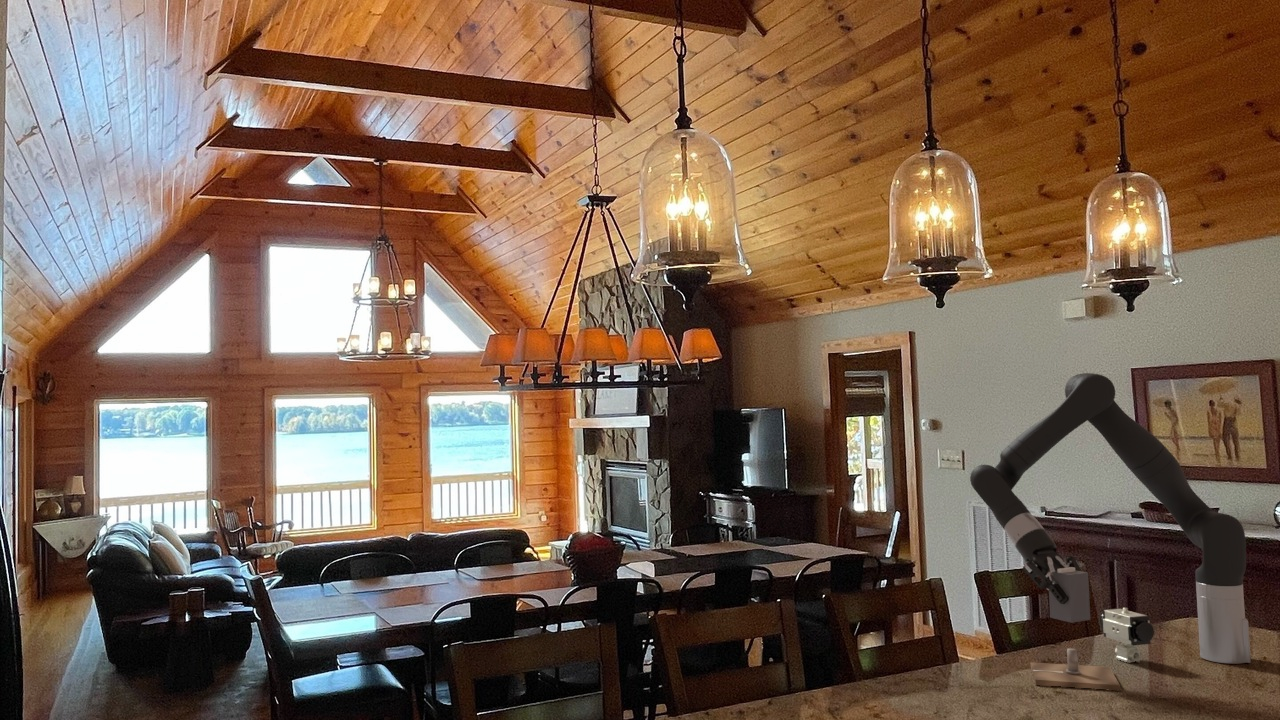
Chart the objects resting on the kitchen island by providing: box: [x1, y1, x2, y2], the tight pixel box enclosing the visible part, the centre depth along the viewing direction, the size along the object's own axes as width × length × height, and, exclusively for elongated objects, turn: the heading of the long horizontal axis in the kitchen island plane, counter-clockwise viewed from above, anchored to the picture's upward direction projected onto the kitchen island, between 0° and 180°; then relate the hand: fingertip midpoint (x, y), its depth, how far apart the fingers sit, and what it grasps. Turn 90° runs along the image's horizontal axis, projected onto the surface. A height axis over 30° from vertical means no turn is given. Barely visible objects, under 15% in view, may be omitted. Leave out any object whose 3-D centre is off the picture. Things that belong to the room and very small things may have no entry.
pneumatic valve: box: [1099, 607, 1155, 664], centre depth 211 cm, size 6×12×12 cm, turn 15°
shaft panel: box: [1030, 647, 1121, 691], centre depth 198 cm, size 16×14×6 cm
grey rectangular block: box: [1048, 567, 1091, 624], centre depth 199 cm, size 6×6×11 cm
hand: (1076, 600), depth 198 cm, fingers closed on grey rectangular block, 5 cm apart
